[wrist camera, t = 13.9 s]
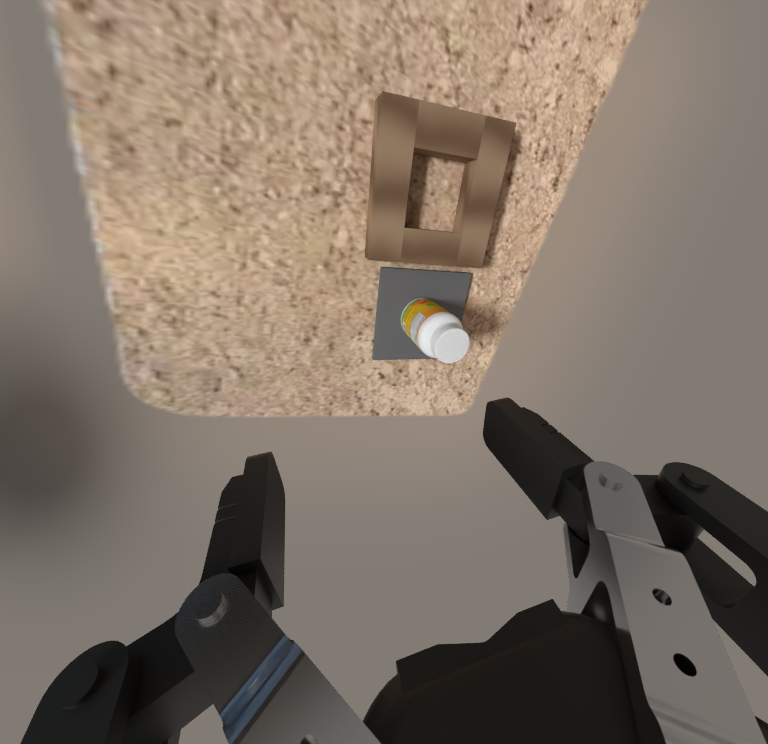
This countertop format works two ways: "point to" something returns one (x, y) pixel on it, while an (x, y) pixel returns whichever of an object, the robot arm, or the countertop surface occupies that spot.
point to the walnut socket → (445, 140)
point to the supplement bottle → (435, 330)
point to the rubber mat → (399, 292)
